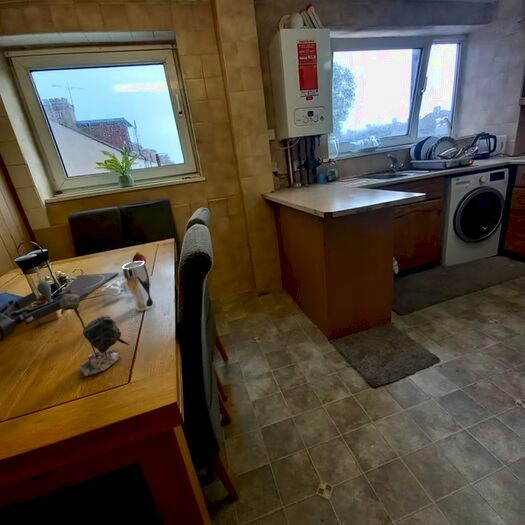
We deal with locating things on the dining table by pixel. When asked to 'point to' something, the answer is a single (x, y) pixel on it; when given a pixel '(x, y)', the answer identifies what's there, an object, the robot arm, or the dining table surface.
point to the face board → (88, 283)
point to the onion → (139, 257)
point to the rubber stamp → (45, 290)
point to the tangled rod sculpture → (116, 288)
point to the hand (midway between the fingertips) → (52, 294)
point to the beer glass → (139, 284)
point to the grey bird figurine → (96, 338)
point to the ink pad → (81, 295)
